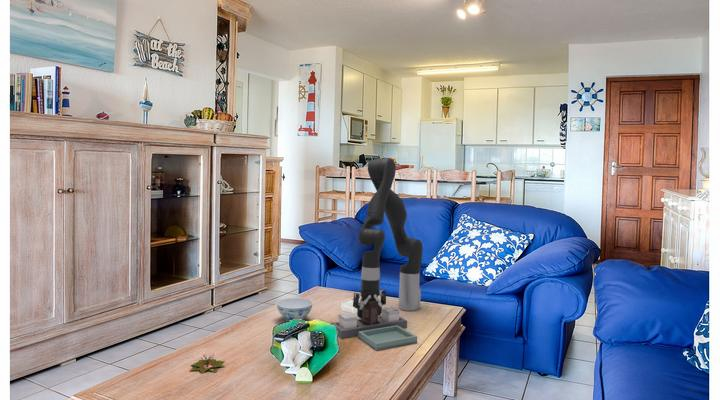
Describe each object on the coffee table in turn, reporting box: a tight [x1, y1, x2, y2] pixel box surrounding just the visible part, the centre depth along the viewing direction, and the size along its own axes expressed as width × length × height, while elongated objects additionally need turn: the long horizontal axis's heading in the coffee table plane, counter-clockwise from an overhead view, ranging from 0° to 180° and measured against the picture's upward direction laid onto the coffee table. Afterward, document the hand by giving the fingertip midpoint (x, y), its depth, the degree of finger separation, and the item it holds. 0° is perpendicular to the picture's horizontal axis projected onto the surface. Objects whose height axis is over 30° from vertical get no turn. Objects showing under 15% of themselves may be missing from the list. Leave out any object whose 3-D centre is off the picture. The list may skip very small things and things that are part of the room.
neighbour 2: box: [380, 306, 401, 322], centre depth 201 cm, size 5×6×7 cm
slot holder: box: [330, 314, 408, 340], centre depth 197 cm, size 30×10×3 cm, turn 119°
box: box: [361, 300, 378, 326], centre depth 196 cm, size 6×4×12 cm
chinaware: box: [276, 297, 314, 322], centre depth 204 cm, size 15×15×8 cm
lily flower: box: [189, 352, 226, 374], centre depth 157 cm, size 12×12×5 cm
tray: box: [357, 325, 418, 351], centre depth 184 cm, size 18×14×2 cm
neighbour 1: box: [338, 312, 358, 329], centre depth 192 cm, size 5×6×7 cm
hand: (369, 316), depth 196 cm, fingers open, 8 cm apart
